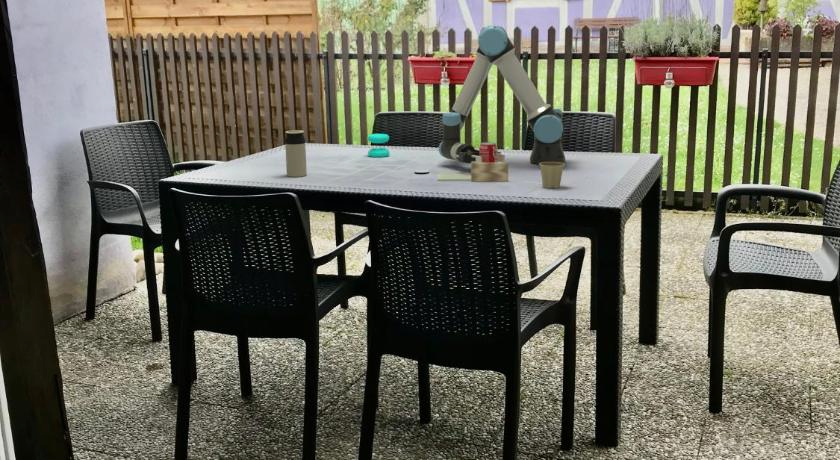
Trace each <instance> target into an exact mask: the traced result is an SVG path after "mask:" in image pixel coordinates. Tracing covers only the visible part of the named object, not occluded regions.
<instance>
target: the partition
mask: <svg viewBox="0 0 840 460" xmlns="http://www.w3.org/2000/svg"><path fill="white" fill-rule="evenodd" d="M470 172H471V173H470V174H471V182H472V183H473V182H475V183H476V182H477V183H478V182H479V183H480V182H482V183H483V182H509V162H506V161H505V162H503V161H499V162H497V163H474V162H471V166H470Z"/></svg>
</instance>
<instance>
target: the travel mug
mask: <svg viewBox="0 0 840 460" xmlns="http://www.w3.org/2000/svg"><path fill="white" fill-rule="evenodd" d="M304 133H305V130H300V129H298V130H297V129H295V130H294V129H292V130H286V131H285V134H286V137H285V139H284V144H285V146H284V147H285V163H286V165H285V167H286V168H285V169H286V176H287V177H289V178H300V177H301V178H303V177H305V176H307V173H308V170H307V152H306V151H307V150H306V138H305V137H304Z"/></svg>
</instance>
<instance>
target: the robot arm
mask: <svg viewBox="0 0 840 460" xmlns="http://www.w3.org/2000/svg"><path fill="white" fill-rule="evenodd" d="M477 43H478V44H477V45H478V48H477V49H476V51H475V52H476V57H475V60H474V61H473V64H472V66H471V68H470V70H469V72H468V73H467V77H466V79H465V80H464V83H463V84H462V87H461V89H460V91H459V94H458V95H457V97H456V100H455V102H454V104H453V106H452V108H451V110H450V111H449V112H444V113H443V114H442V141H441V142H440V143H439V146H438V153H439V155H440V156H441V157H443V158H445V159H447V160H453V161H457V162H459V163H465V164H468V165H469V164H471V163H482V157H480V156H479V149H475V147H474V146H473V145H472V144H467V143H463V142H462V141H461V139H462V138H461V134H462V133H461V131H462V129H463V128H464V126H465V122H466V120H467V118H468V116H469V114H470V111H471V110H472V108H473V106H474V104H475V101H476V100H477V98H478V95H479V94H480V91H481V89H482V87H483V85H484V83H485V81H486V79H487V77H488V74H489V73H490V71H491V69H492V67H493V66H496V67H497V69H498V71H499V72H500V74H501V75H502V77H503V78H504V80H505V82H506V83H507V84H508V86H509V88H510V89H511V91H512V93H513V94H514V96H515V97H516V99H517V100H518V102H519V104H520V105H521V106H522V109H524V111H525V114H526V117H527V118H526V121H527V123H528V124H529V127H530V128H531V129H532V131H533V134H534V136H533V137H534V139H533V140H534V141H533V142H534V143H533V146H532V147H533V148H532V150H531V154H530V155H529V163H530V162H531V164H533V163H535V164H534V165H539V163H542V162H560V163H564V164H565V163H566V155H565V152H564V149H563V148H564V147H563V145H562V142H563V141H562V139H563V138H562V136H563V135H562V134H563V132H564V125H563V111H562V109H560V108H553V106H552V105H551V104H549V103H546V102H545V100H544V99H543V97H542V95H541V94H540V92H539V91H538V90H537V87H536V86H535V85H534V83H533V82H532V80H531V78H530V77H529V75H528V73H527V72H526V70H525V69H524V66H522V64H521V62H520V60H519V59H518V57H517V56H516V54H515V49H516V48H515V46H514V44H513V43H512V41H511V39H510V38H509V36H508V33H507V31H506V29H504V28H503V27H501V26H499V25H496V24H490V25H487V26H485V27H484V28H483V29H482V30H480V33H478V37H477ZM497 162H506V154H504V153H501V152H500V151H498V150H497Z"/></svg>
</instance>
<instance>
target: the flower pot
mask: <svg viewBox="0 0 840 460" xmlns="http://www.w3.org/2000/svg"><path fill="white" fill-rule="evenodd" d="M538 165H539V168H540V171H541V173H540V174H541V181H542V187H543V188H546V189H552V188H554V189H558V188H560V187H561V184H562V183H561V181H562V175H563V170H564V169H565V168H564V167H565V166H566V164H565V163H560V162H542V163H539V164H538Z"/></svg>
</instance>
